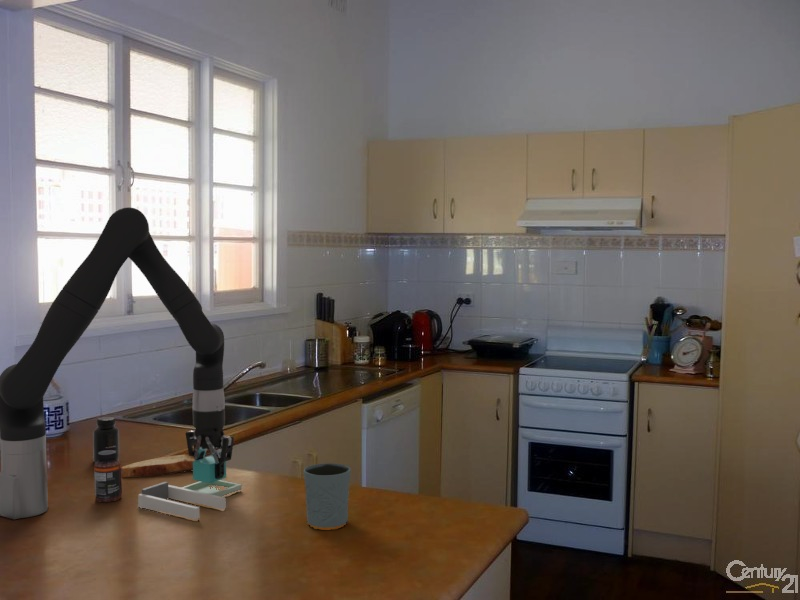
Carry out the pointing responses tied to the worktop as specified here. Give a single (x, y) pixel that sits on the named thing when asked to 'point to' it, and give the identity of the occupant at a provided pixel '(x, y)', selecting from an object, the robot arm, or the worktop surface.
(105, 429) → the supplement bottle
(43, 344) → the robot arm
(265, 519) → the worktop surface
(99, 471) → the supplement bottle
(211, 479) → the teal block
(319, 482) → the grey blue cup
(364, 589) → the worktop surface
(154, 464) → the bread slice
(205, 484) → the tray
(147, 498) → the white u-shaped frame
